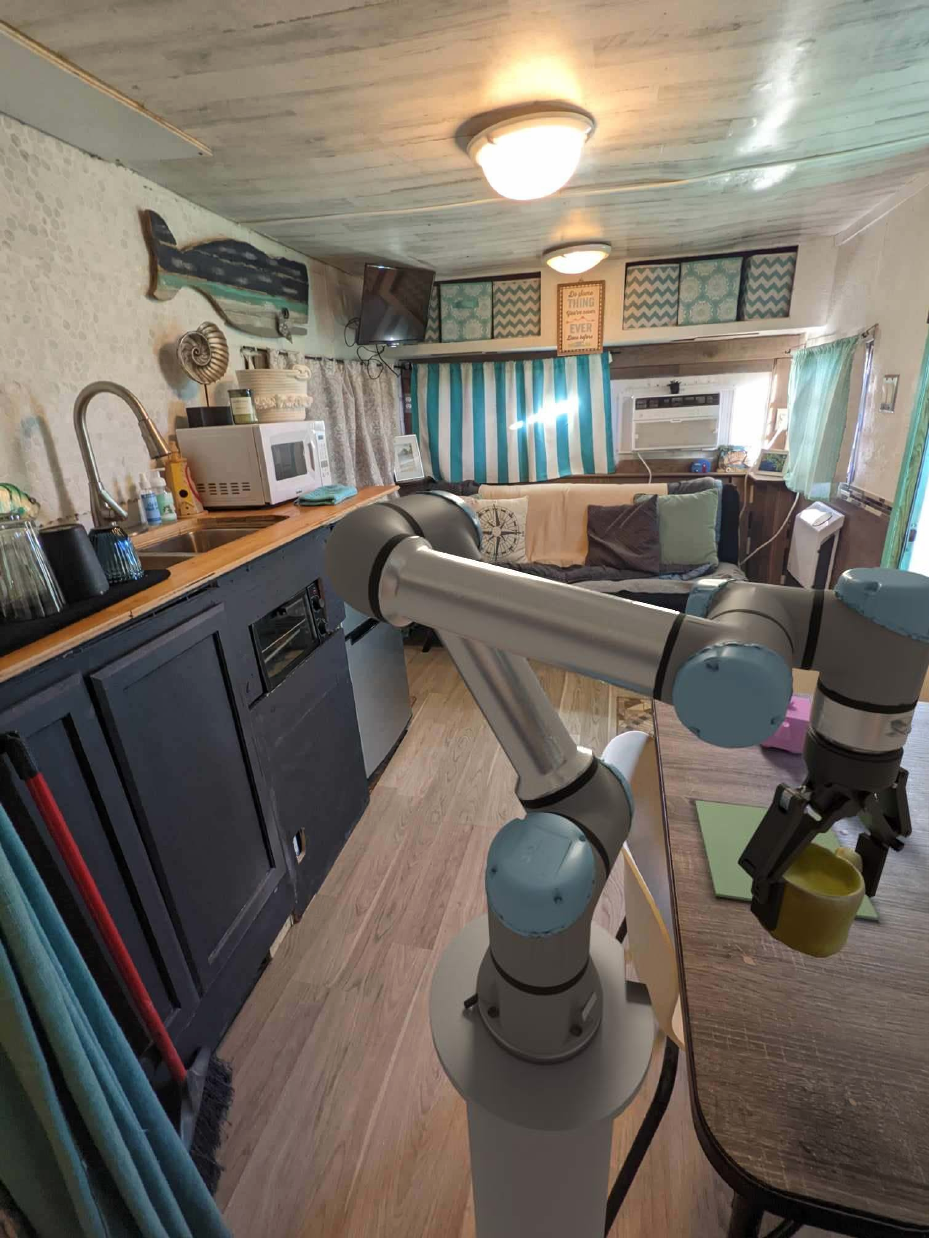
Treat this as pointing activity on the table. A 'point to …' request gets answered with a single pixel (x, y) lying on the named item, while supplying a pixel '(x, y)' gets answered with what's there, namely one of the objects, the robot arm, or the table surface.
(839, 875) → the mug
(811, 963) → the table surface
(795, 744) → the teapot
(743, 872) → the mat
